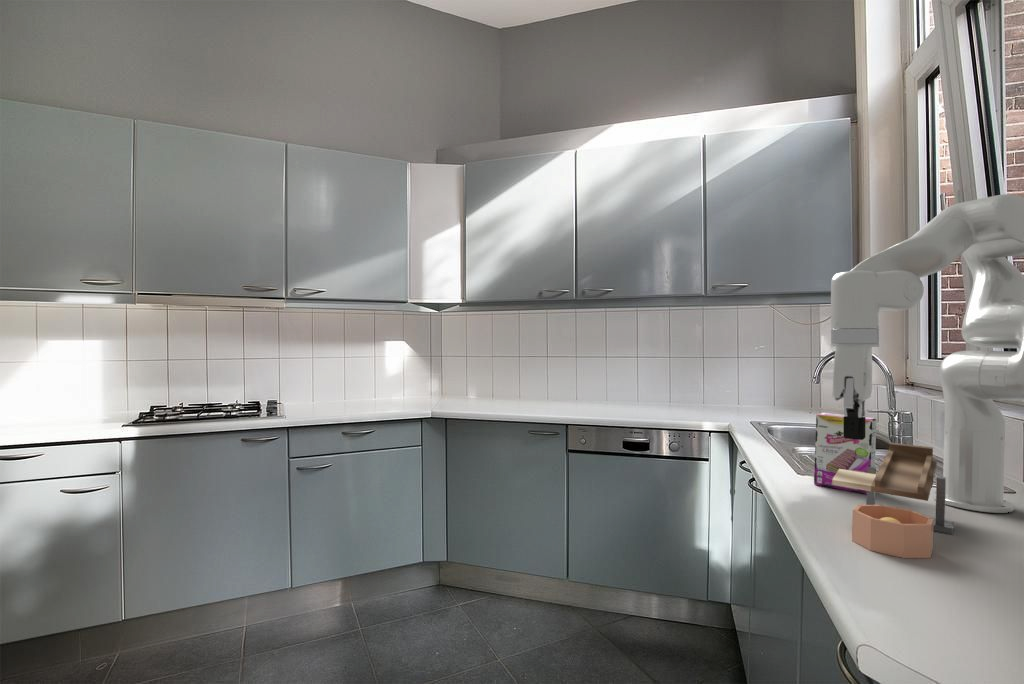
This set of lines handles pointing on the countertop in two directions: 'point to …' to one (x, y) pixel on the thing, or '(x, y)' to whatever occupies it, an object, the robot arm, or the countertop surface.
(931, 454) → the wooden tray
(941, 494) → the stand
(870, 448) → the candy bar box
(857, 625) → the countertop surface
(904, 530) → the salmon orange faceted bowl
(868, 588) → the countertop surface
